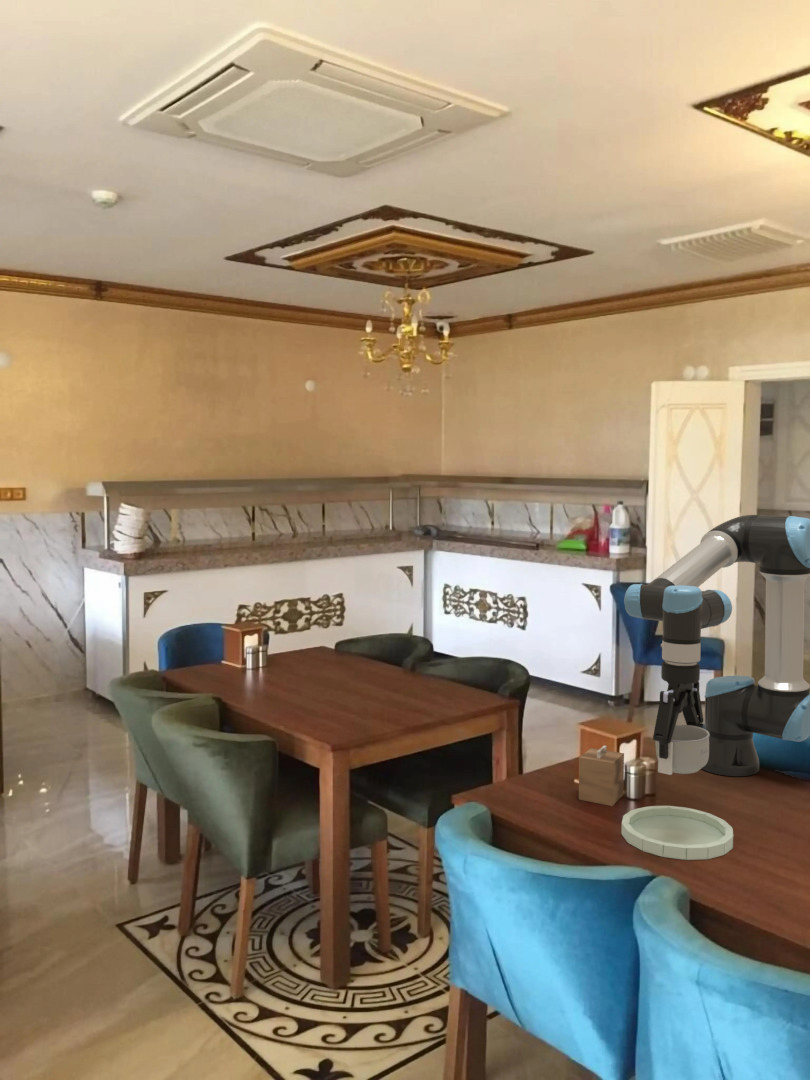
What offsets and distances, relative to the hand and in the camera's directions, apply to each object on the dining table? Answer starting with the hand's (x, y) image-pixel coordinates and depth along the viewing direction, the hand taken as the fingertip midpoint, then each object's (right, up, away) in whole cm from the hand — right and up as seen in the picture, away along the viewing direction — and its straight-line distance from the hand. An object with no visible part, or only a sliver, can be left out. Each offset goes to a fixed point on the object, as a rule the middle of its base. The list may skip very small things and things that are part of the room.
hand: (678, 765), depth 190 cm
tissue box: (-11, -13, +24) cm, 29 cm away
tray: (0, -15, +1) cm, 15 cm away
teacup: (+1, -1, +1) cm, 1 cm away
